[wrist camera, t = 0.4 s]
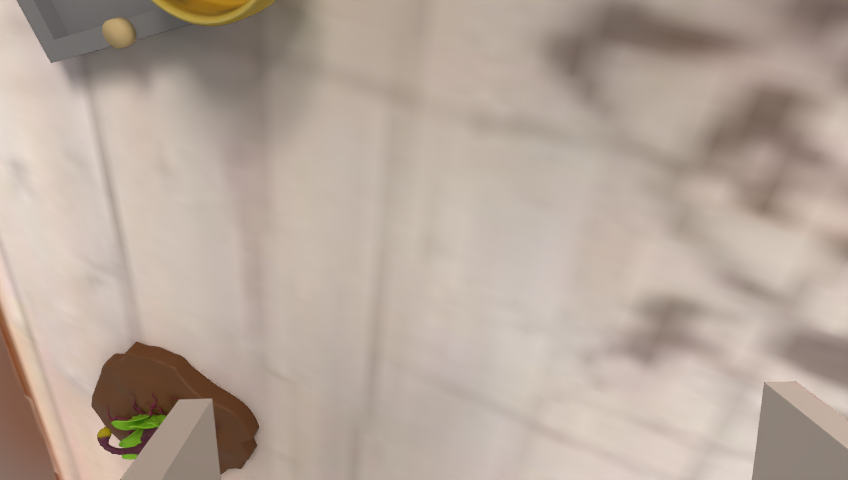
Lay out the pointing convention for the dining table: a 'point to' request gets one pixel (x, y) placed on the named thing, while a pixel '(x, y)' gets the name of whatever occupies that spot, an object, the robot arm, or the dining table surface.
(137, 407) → the plant
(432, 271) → the dining table surface
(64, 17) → the base
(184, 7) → the plant pot
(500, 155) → the dining table surface
